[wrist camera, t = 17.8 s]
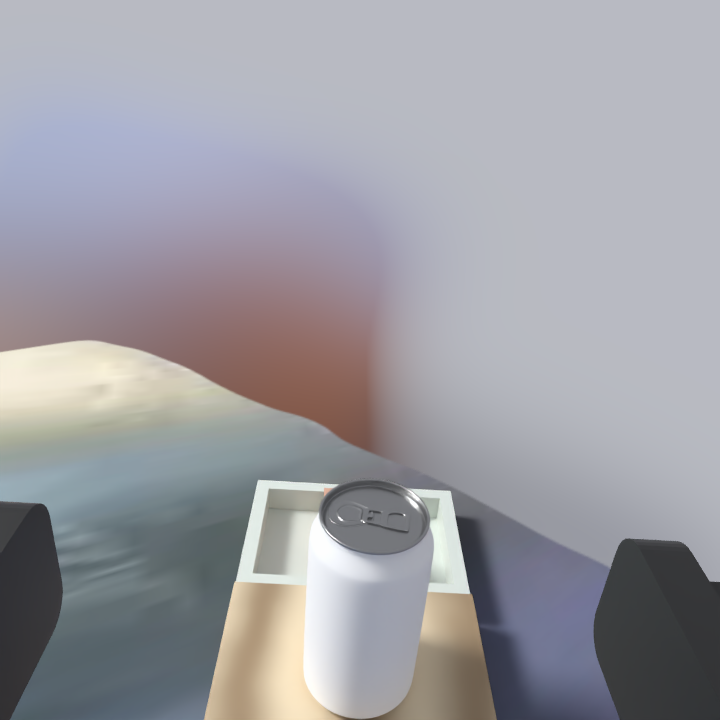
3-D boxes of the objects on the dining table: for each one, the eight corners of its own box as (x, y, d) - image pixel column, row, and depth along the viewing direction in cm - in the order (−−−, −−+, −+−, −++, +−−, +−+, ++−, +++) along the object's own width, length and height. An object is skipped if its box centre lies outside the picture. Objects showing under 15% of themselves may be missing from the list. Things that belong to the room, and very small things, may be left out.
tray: (235, 609, 46) (235, 583, 44) (258, 503, 55) (258, 480, 54) (465, 621, 46) (470, 595, 45) (446, 514, 56) (450, 491, 55)
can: (313, 618, 42) (322, 465, 36) (415, 635, 41) (440, 482, 36) (290, 713, 36) (297, 548, 30) (408, 734, 35) (437, 569, 30)
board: (197, 796, 35) (194, 762, 33) (235, 613, 45) (234, 581, 44) (497, 809, 35) (507, 776, 34) (465, 625, 46) (472, 594, 44)
